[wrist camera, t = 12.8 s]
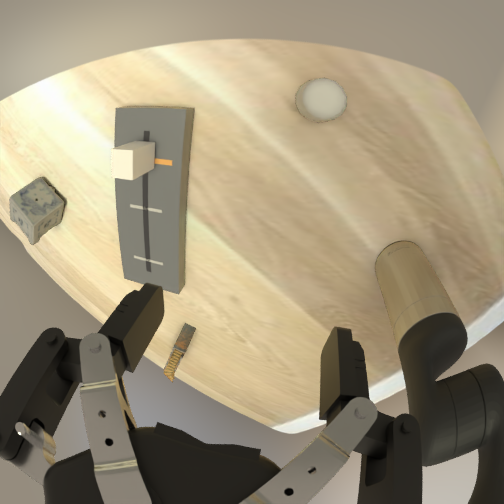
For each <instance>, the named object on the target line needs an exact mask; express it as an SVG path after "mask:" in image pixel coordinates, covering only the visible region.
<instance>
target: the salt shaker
mask: <svg viewBox="0 0 504 504" xmlns="http://www.w3.org/2000/svg"><path fill="white" fill-rule="evenodd" d="M296 106H297V108H298V110H299V112H300V114H302V115H303V116H304V117H305V118H307V119H308V120H311V121H314V122H317V123H319V122H326V121H329V120H334V119H336V118H337V117H339V116H340V115H342V114H343V112H344V110H345V108H346V106H347V96H346V94H345V92H344V89H343V88H342V87H341V86H340V85H339V84H338V83H337V82H336V81H334V80H330V79H327V78H319V79H314V80H309V81H307V82H306V83H304V84H303V85H301V86H300V88H299V90H298V91H297V93H296Z"/></svg>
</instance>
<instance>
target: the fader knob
mask: <svg viewBox="0 0 504 504" xmlns="http://www.w3.org/2000/svg"><path fill="white" fill-rule="evenodd" d="M154 159H155V142H145V141H133V142H130V143H127V144H124V145H121V146H118V147H116V148H113V149H111V165H112V178H119V179H126V180H134V179H136V178H138V177H139V176H141V175H143V174H145V173H147V172H149V171H150V170H152V169H154Z"/></svg>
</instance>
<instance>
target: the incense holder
mask: <svg viewBox="0 0 504 504" xmlns="http://www.w3.org/2000/svg"><path fill="white" fill-rule="evenodd" d="M9 201H10V219H11V220H12V221H13V222H16V224H17V225H18V226H19V227H20V228H21V230H22V231H23V233H25V235H26V236H27V237H28V239H29V242H30V244H31V245H34V244H35V243H37V242H38V241H39V240H40V237H41V236H42V235H44V234H45V233H46V232H47V231H48V230H50V229H51V228H52V227H54V226H56V225H58V224H59V223H60V222H61V219H62V218H61V217H62V212H63V208H64V201H63V200H62V199H61V198H60V197H59V196H58V195H57V194H56V193H55V188H54V187H50V186H48V184H47V183H46V182H45V181H44V180H43V178H41V177H40V178H37V179H36V180H34V181H33V182H31V183H30V184H28V185H27V186H25V187H24V188H22V189H21V190H19V191H18V192H16V193H15V194H13V195H12V196H11V197H10V199H9Z"/></svg>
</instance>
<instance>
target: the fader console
mask: <svg viewBox="0 0 504 504" xmlns="http://www.w3.org/2000/svg"><path fill="white" fill-rule="evenodd" d="M193 117H194V108H180V107H148V106H133V107H120V108H116V116H115V148H116V147H118V146H121V145H124V144H127V143H130V142H133V141H145V142H155V159H154V169H152V170H150V171H149V172H147V173H145V174H143V175H141V176H139V177H138V178H136V179H134V180H126V179H119V178H115V192H116V209H117V221H118V232H119V242H120V250H121V258H122V265H123V272H124V278H125V279H128V280H131V281H134V282H138V283H141V284H145V283H147V282H148V283H151V284H155V285H158V286H161V287H162V288H163V290H165V291H169V292H173V293H176V294H179V293H180V292H181V290H182V288H183V287H184V285H185V232H186V207H187V188H188V173H189V160H190V148H191V137H192V127H193Z"/></svg>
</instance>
